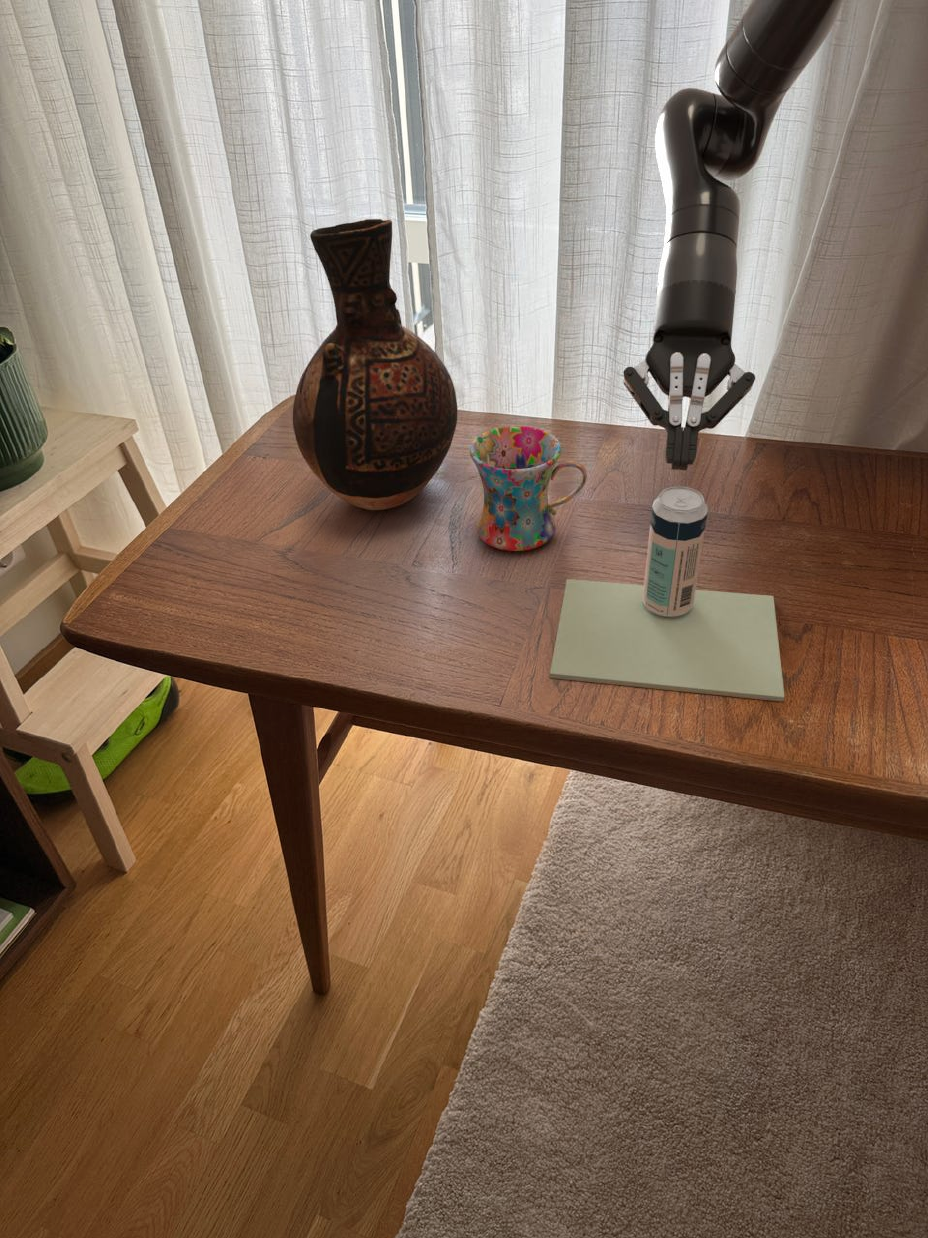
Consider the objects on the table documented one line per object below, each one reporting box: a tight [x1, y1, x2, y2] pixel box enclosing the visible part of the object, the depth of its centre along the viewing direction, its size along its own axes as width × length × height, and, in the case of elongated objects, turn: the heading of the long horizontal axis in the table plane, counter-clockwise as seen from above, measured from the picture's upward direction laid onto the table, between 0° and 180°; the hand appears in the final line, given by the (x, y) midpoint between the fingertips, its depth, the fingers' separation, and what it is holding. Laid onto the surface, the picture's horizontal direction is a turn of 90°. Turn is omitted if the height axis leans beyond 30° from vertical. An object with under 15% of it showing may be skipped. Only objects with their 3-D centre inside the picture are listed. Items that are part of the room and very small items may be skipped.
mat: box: [549, 578, 786, 703], centre depth 82 cm, size 20×14×1 cm
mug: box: [469, 425, 588, 552], centre depth 93 cm, size 12×9×11 cm
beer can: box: [642, 485, 709, 617], centre depth 81 cm, size 5×5×12 cm
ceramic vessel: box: [292, 218, 458, 511], centre depth 95 cm, size 21×18×30 cm
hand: (679, 467), depth 85 cm, fingers closed
